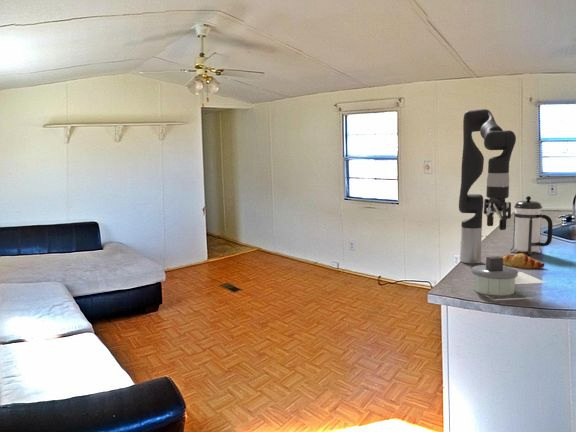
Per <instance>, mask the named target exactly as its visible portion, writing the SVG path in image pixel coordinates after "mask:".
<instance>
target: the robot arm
mask: <svg viewBox="0 0 576 432" xmlns="http://www.w3.org/2000/svg"><path fill="white" fill-rule="evenodd" d="M462 123H463V125H462V126H463V129H462V130H463V131H462V132H463V140H462V143H463V144H462V158H461V176H460V178H461V179H460V180H461V181H460V190H459V198H458V211H459V213H461V214H474V215H473V216H472V217H470V218H466V219H464V220H462V221H461V226H460V227H461V228H460V230H461V231H460V233H461V234H460V235H461V236H460V248H459V249H460V253H459V254H460V255H459V259H460V260H459V261H460V262H462V263H463V264H472V265H474V264H480V263H481V262H482V261H481V260H482V238H483V235H482V234H483V214H484V215H485V216H486V226H488V227H493V226H494V215H495V214H496V215H498V217H499V223H498V224H499V226H498V230H500V231H506V229H507V221H508V219H509V220H510V219H511V218H512V203H511V202H510V201H507V202H506V199H508V198H509V195H510V161H511V157H512V154H513V151H514V148H515V145H516V141H517V137H516V134H515V132H514V131H512V130H503V128H502V127H501V126H499V125H498V124H497V122H496V120H495V117H494V115H493V114H492V112H491V111H490V110H489V109H486V108H483V109H473V110H466V111H465V113H464V115H463V122H462ZM473 132H475V133H476V132H479V133H480V136H481V138H483V146H484V148H485V149H486V150H489V151H502V152H501V154H499V155H496V156H492V157H490V158H489V159H488V162H487V163H488V164H487V165H488V166H487V167H488V168H487V178H486V198H485V199H484V197H483V195H482V194H478V193H473V194H470V193H469V191H470V189H471V188H472V186H473V185H474V183H475V182H476V181H478V180H479V178H480V177H481V175H482V174H483V173H484V163H485V157H484V155H483V153H482V151H481V150H480V149H479V147H478V146H477V145H476V143H475V140H474V139H473V136H472V135H473Z"/></svg>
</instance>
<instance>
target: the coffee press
mask: <svg viewBox="0 0 576 432" xmlns="http://www.w3.org/2000/svg"><path fill="white" fill-rule="evenodd" d="M542 209H543V206H542V203H540V202H538V201H537V200H536V201H534V200H532V197H531V196H530V195H527V196H526V197H525V200H520V201H517V202H516V203H515V205H514V207H513V209H512V210H513V211H514V213H513V217H514V218H513V238H512V247H511V248H510V252H511V253H512V254H513V253H514V252H516V251H518V252H521V253H527V256H528V257H531V256H532V253H536V252H537V253H539V254H542V253H543V250H542V249H541V248H540V247H548V246H549V245H550V244H551V243H552V239H553V221H552V218H551V217H550V216H548V215H546V214H542ZM542 219H544V220H546V221H547V236H546V237H547V238H546V241H545V242H541V230H542V229H541V228H542V227H541V226H542ZM513 249H514V250H513ZM539 251H540V252H539Z"/></svg>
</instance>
